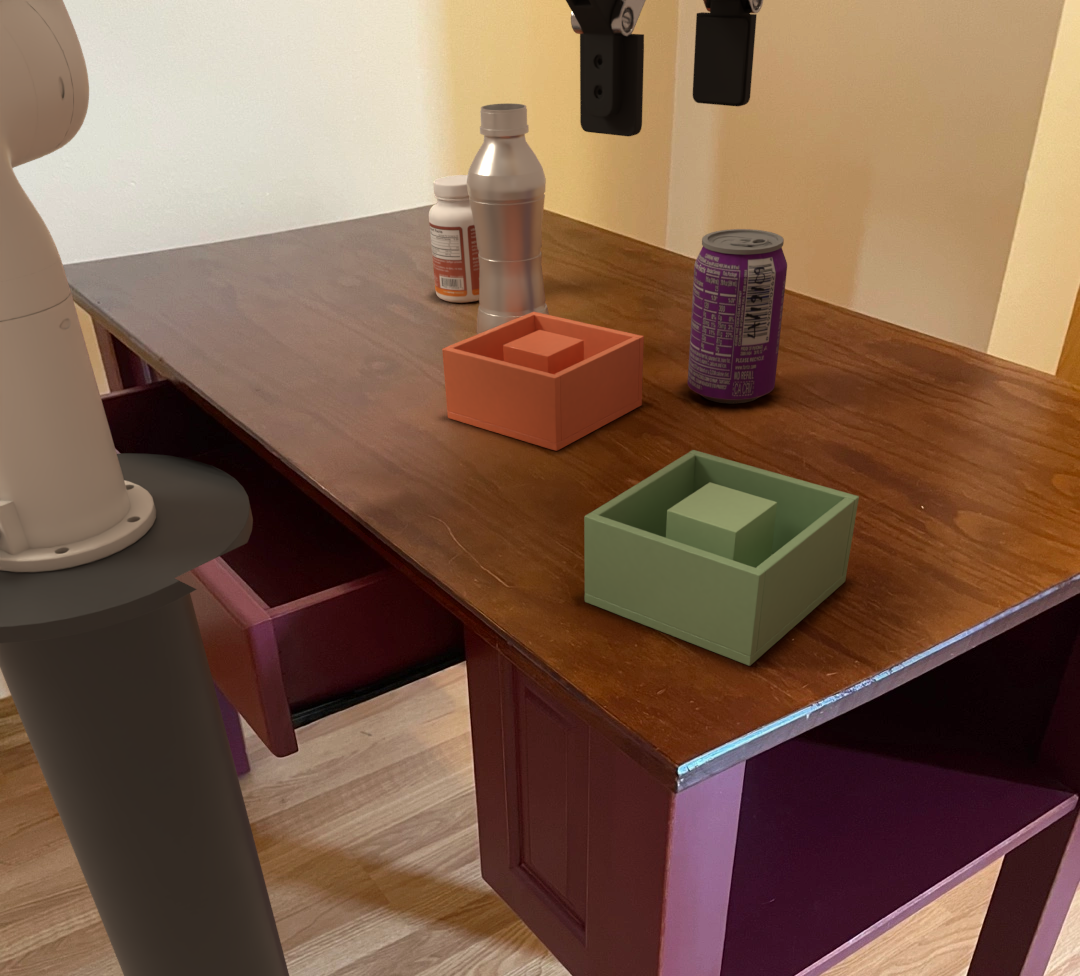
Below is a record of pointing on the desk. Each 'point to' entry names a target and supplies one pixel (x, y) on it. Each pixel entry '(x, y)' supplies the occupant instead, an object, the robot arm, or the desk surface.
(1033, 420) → the desk surface
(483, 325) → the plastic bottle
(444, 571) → the desk surface
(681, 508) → the sage block
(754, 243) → the beverage can
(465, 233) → the pill bottle
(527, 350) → the coral block
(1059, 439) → the desk surface
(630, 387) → the coral bin
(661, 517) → the sage bin
